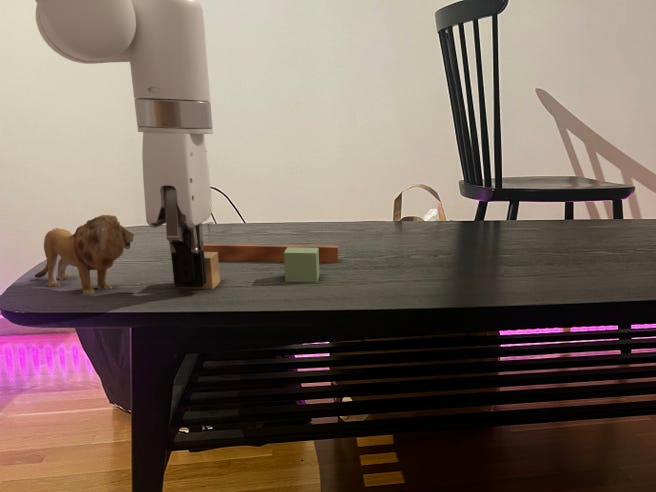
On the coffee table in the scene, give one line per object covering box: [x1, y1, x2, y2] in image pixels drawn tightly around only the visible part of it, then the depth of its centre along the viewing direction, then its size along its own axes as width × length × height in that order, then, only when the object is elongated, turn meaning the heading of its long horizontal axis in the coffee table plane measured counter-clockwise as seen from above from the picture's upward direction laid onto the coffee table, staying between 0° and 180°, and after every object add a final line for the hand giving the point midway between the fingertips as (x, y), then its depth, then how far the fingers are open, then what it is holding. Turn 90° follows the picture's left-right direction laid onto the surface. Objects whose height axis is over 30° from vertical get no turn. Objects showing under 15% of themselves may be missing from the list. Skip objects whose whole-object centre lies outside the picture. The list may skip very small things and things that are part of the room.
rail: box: [198, 243, 340, 264], centre depth 101 cm, size 20×1×2 cm, turn 98°
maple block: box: [177, 252, 221, 290], centre depth 85 cm, size 4×4×4 cm
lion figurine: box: [34, 214, 135, 295], centre depth 81 cm, size 15×5×9 cm, turn 70°
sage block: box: [283, 247, 320, 283], centre depth 91 cm, size 4×4×4 cm
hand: (190, 285), depth 81 cm, fingers closed
